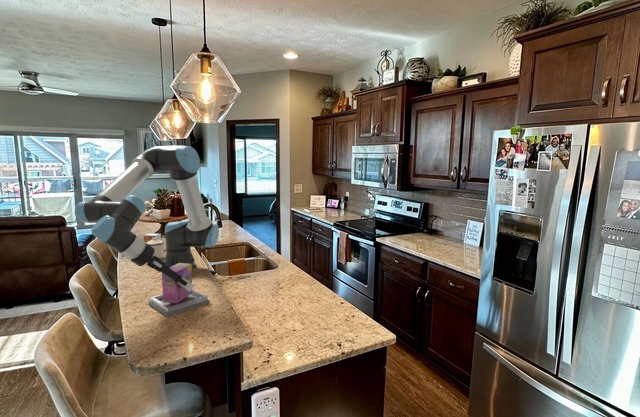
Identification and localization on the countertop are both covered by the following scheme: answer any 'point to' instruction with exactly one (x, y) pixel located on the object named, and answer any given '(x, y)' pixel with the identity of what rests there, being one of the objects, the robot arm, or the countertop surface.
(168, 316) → the gray square tray
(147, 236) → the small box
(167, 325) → the countertop surface
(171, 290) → the box
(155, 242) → the teacup with lid
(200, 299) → the steel rail frame
